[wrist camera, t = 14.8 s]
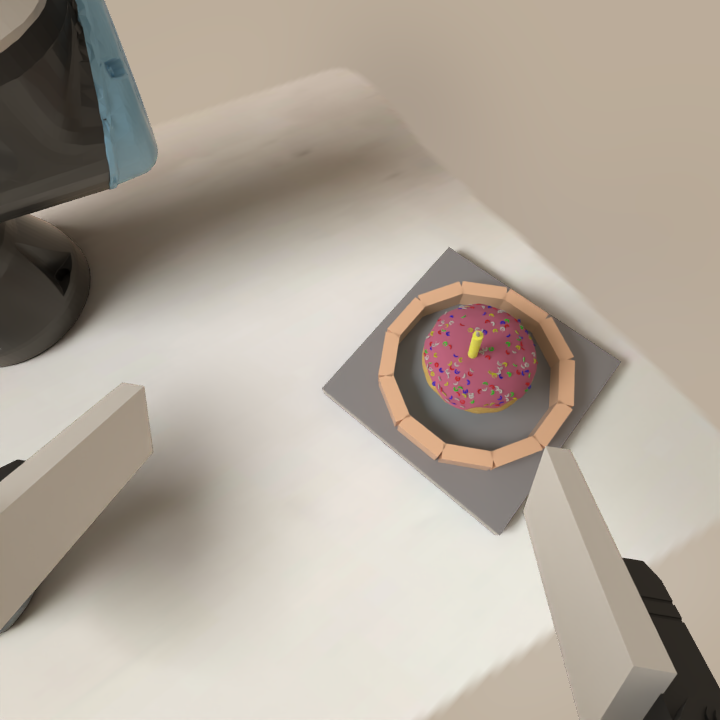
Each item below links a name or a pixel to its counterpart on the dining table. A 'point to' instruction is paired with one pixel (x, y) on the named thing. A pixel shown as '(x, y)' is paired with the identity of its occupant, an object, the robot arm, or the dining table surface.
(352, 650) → the dining table surface
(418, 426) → the ring dish
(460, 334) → the cupcake
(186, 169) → the dining table surface
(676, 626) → the robot arm
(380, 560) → the dining table surface
